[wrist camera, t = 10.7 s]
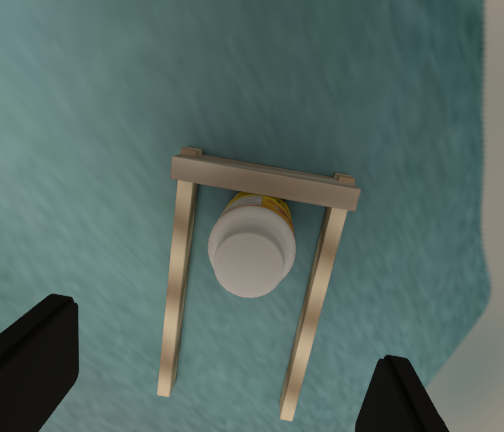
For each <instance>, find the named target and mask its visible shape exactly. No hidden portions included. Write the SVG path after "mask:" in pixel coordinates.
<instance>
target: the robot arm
mask: <svg viewBox="0 0 504 432" xmlns="http://www.w3.org/2000/svg"><path fill="white" fill-rule="evenodd" d="M78 374H79V339H78V305H77V303H74V300H73V298H72V297H69V296H63V295H58V294H50V295H49V296H47V297H46V298H45V299H43V300H42V301H41V302H40V303H38V304H37V305H36V306H34V307H33V308H32V309H31V310H29V311H28V312H27V313H26V314H24V315H23V316H22V317H21V318H19V319H18V320H17V321H16V322H14V323H13V324H12V325H10V326H9V327H8V328H7V329H5V330H4V331H3V332H2V333H0V432H39V430H40V429H41V428H42V426H43V425H44V424H45V422H46V421H47V420H48V418H49V417H50V416H51V414H52V413H53V412H54V410H55V409H56V408H57V406H58V405H59V404H60V402H61V401H62V399H63V398H64V397H65V395H66V394H67V393H68V391H69V390H70V389H71V387H72V386H73V385H74V383H75V382H76V380H77V377H78ZM355 432H449V430H448V428H447V427H446V425H445V423H444V421H443V420H442V418H441V417H440V415H439V414H438V412H437V410H436V408H435V407H434V405H433V403H432V401H431V399H430V397H429V396H428V394H427V392H426V390H425V388H424V387H423V385H422V383H421V381H420V379H419V377H418V376H417V374H416V372H415V370H414V368H413V366H412V365H411V363H410V361H409V360H408V359H407V358H403V357H398V356H392V355H386V356H385V357H384V359H379V360H378V362H377V365H376V368H375V371H374V373H373V376H372V379H371V382H370V384H369V387H368V390H367V393H366V396H365V398H364V401H363V404H362V407H361V410H360V412H359V415H358V418H357V421H356V424H355Z"/></svg>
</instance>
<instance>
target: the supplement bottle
mask: <svg viewBox="0 0 504 432" xmlns="http://www.w3.org/2000/svg"><path fill="white" fill-rule="evenodd" d="M208 254H209V258H210V262H211V264H212V266H213V268H214V272H215V275H216V277H217V279H218V281H219V282H220V284H221V285H222V286H223V287H224V288H225V289H226V290H228V291H229V292H231V293H232V294H235V295H237V296H240V297H245V298H255V297H260V296H263V295H265V294H267V293H269V292H271V291H272V290H273V289H274V288H275V287H276V286H277V285H278V284H279V282H280V281H281V280H282V279H283V278H284V277H285V276H286V275H287V274H288V272H289V271H290V269H291V268H292V265H293V263H294V260H295V255H296V242H295V236H294V229H293V224H292V219H291V213H290V210H289V207H288V205H287V203H286V201H285V200H284V199H282V198H276V197H270V196H265V195H259V194H253V193H248V192H242V191H239V192H238V193H237V194H236V195H234V197H233V198H232V199H231V200H230V202H229V203H228V205H227V206H226V208H225V209H224V211H223V212H222V214H221V216H220V217H219V219H218V220H217V222H216V224H215V225H214V227H213V229H212V231H211V233H210V236H209V241H208Z"/></svg>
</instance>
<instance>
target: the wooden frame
mask: <svg viewBox="0 0 504 432" xmlns="http://www.w3.org/2000/svg"><path fill="white" fill-rule="evenodd" d="M170 179H175V180H178V185H177V195H176V205H175V216H174V226H173V236H172V247H171V257H170V268H169V278H168V288H167V299H166V309H165V319H164V330H163V340H162V351H161V361H160V371H159V382H158V392H157V395H161V396H166V397H169V396H170V394H171V391H172V389H173V386H174V384H175V381H176V373H177V364H178V355H179V347H180V338H181V329H182V321H183V312H184V303H185V295H186V286H187V278H188V269H189V260H190V252H191V243H192V234H193V226H194V217H195V209H196V200H197V191H198V184H203V185H208V186H214V187H220V188H225V189H231V190H237V191H242V192H248V193H253V194H259V195H265V196H270V197H276V198H282V199H287V200H293V201H298V202H304V203H310V204H315V205H321V206H327V208H326V212H325V216H324V220H323V224H322V229H321V233H320V237H319V241H318V245H317V249H316V253H315V258H314V262H313V266H312V270H311V274H310V278H309V282H308V287H307V291H306V295H305V299H304V303H303V307H302V311H301V316H300V320H299V324H298V328H297V332H296V336H295V340H294V345H293V349H292V353H291V357H290V361H289V365H288V369H287V373H286V378H285V382H284V386H283V390H282V394H281V398H280V419H283V420H288V421H292V420H293V416H294V412H295V408H296V405H297V401H298V397H299V393H300V389H301V386H302V382H303V378H304V374H305V370H306V367H307V363H308V359H309V355H310V351H311V347H312V344H313V340H314V336H315V332H316V328H317V325H318V321H319V317H320V313H321V309H322V306H323V302H324V298H325V294H326V290H327V286H328V283H329V279H330V275H331V271H332V267H333V264H334V260H335V256H336V252H337V248H338V244H339V241H340V237H341V233H342V229H343V225H344V222H345V218H346V214H347V210H349V211H355V210H356V207H357V203H358V199H359V196H360V192H361V189H360V188H358V187H357V186H356V185H354V183H355V180H356V179H355V178H353V177H352V176H350V175H346V174H340V173H335V175H334V177H328V176H323V175H317V174H311V173H306V172H300V171H294V170H288V169H283V168H277V167H271V166H266V165H260V164H254V163H248V162H243V161H237V160H231V159H226V158H220V157H214V156H208V155H203V154H202V149H197V148H191V147H186V148H182V149H181V153H180V154H179V155H175V156H172V163H171V175H170Z"/></svg>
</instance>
